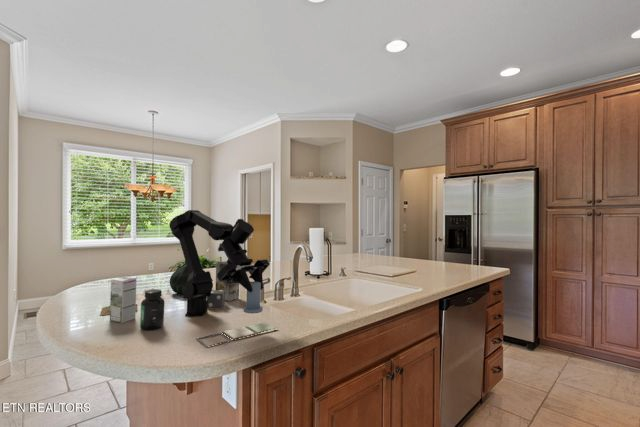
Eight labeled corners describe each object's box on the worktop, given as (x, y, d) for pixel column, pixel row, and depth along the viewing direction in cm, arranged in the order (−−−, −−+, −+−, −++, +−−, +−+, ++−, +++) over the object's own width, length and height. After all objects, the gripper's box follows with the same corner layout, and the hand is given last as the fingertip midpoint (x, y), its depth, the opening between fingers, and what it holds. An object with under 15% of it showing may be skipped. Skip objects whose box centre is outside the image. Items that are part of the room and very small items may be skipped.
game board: (205, 347, 90) (206, 345, 90) (195, 339, 96) (196, 336, 96) (278, 330, 106) (278, 327, 106) (265, 323, 112) (265, 321, 112)
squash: (184, 277, 162) (174, 257, 153) (212, 280, 160) (204, 260, 151) (170, 301, 152) (159, 281, 142) (200, 304, 150) (190, 285, 140)
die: (206, 308, 128) (207, 293, 128) (210, 304, 134) (210, 289, 134) (221, 308, 129) (222, 293, 129) (224, 304, 135) (225, 289, 135)
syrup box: (136, 318, 114) (137, 277, 114) (120, 323, 108) (122, 280, 108) (124, 316, 115) (125, 276, 116) (108, 321, 110) (110, 278, 110)
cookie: (101, 308, 125) (101, 306, 125) (137, 305, 131) (137, 303, 131) (98, 317, 115) (98, 314, 115) (137, 313, 121) (137, 310, 121)
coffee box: (239, 298, 145) (240, 262, 145) (228, 301, 139) (229, 264, 140) (225, 295, 150) (226, 260, 150) (214, 298, 144) (215, 262, 144)
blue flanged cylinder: (246, 314, 100) (247, 285, 100) (241, 309, 105) (242, 281, 105) (265, 312, 103) (266, 283, 103) (258, 307, 108) (259, 280, 108)
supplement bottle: (138, 332, 101) (140, 293, 101) (141, 325, 107) (142, 289, 107) (163, 329, 103) (164, 292, 103) (164, 323, 110) (165, 288, 110)
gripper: (243, 265, 121) (264, 299, 114) (200, 270, 105) (221, 311, 99) (259, 245, 116) (281, 280, 110) (216, 248, 101) (239, 289, 94)
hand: (256, 290), depth 103 cm, fingers closed on blue flanged cylinder, 4 cm apart
